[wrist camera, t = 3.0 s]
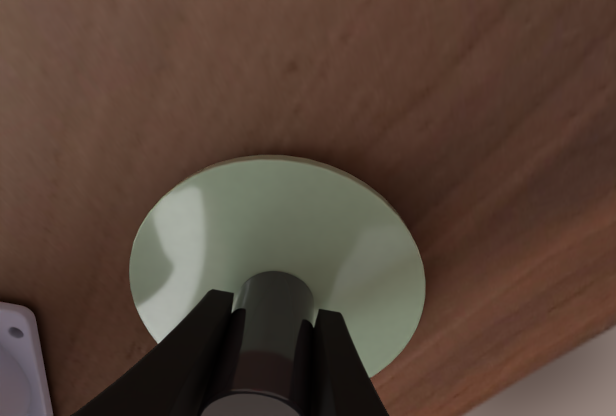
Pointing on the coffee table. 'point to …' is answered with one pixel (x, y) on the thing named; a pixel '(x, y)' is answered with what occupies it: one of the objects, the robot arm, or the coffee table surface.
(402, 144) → the coffee table surface
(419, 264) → the cover
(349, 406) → the robot arm
